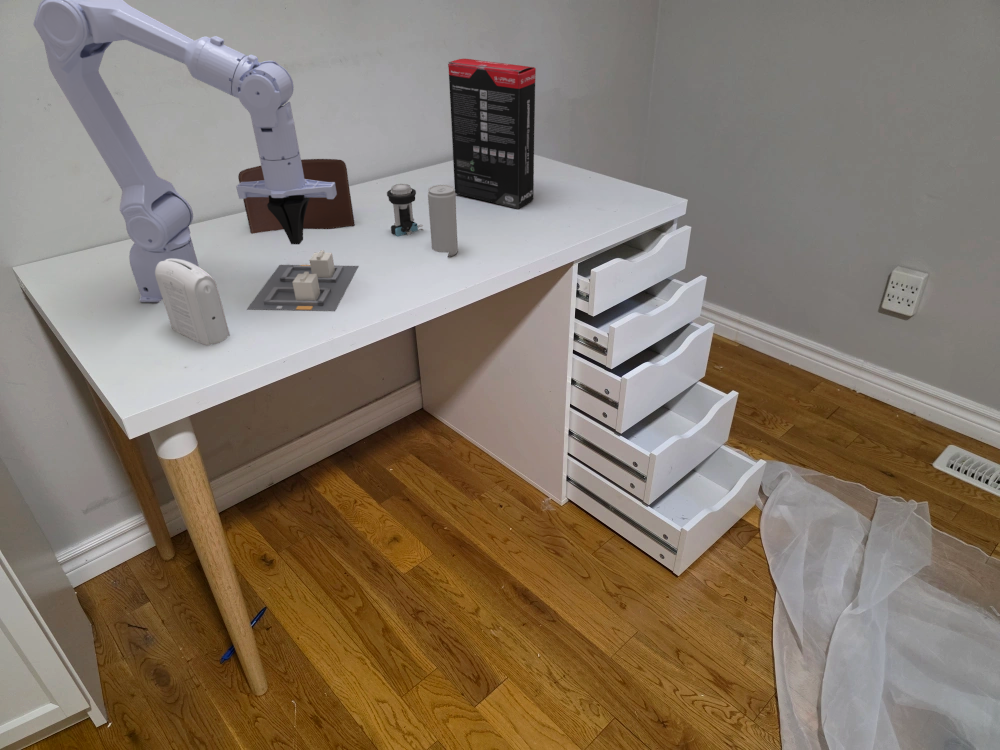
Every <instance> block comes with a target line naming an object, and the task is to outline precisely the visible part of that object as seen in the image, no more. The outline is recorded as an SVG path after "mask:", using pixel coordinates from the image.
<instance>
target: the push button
mask: <svg viewBox="0 0 1000 750" xmlns="http://www.w3.org/2000/svg"><path fill="white" fill-rule="evenodd" d="M416 195H417V191H416V189H415V188H412V187H411V185H410V184H407V183H396V184H393V185H392V186H391V188H390V189H389V190H388V191H387V192H386V197H388V201H389V202H390V204H392V206H393V215H394V223H393V225H391V226H390V231H391V234H392V235H393V236H395V237H397V238H398V237H400V236H403V235H406V236H409V235H413V233H414V232H417V231H424V229H423V226H424V225H423V224H418V223H416V222H415V218H414V217H413V216H414V215H413V212H414V211H413V202H415V201H416ZM421 227H422V228H421ZM419 228H420V229H419Z"/></svg>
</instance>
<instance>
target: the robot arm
mask: <svg viewBox="0 0 1000 750" xmlns="http://www.w3.org/2000/svg"><path fill="white" fill-rule="evenodd" d="M33 27H34V29H35V30H36V31H37V33H38V35H39V37H40V38H41V40H42V42H43V44H44V49H45V54H46V58H47V64H48V68H49V70H50V72H51V74H52V76H53V79H55V81H56V83H57V84H58V86H59V87H60V89H61V91H62V92H63V94H64V96H65V97H66V99H67V102H69V105H70V106H71V108H72V109H73V111H74V112H75V114H76V116H77V118H78V120H79V121H80V123H81V124H82V126H83V128H84V129H85V131H86V133H87V134H88V136H89V138H90V140H91V141H92V143H93V144H94V146H95V148H96V150H97V151H98V152H99V154H100V156H101V158H102V160H103V161H104V163H105V165H106V166H107V169H108V170H109V171H110V173H111V175H112V176H113V178H114V180H115V181H116V183H117V185H118V186H119V188H120V189H121V196H120V197H121V199H120V201H119V212H120V213H121V215H122V217H123V219H124V223H125V227H126V228H125V230H126V232H127V234H128V237H129V238H130V239H131V241H132V242H133V244H132V246H131V248H130V250H129V256H128V258H129V265H130V268H131V272H132V275H133V277H134V280H135V283H136V285H137V288H138V292H139V295H140V297H139V299H138V300H139V302H140V303H160V302H161V301H163V298H162V295H161V292H160V289H159V286H158V282H157V279H156V276H155V270H156V266H157V264H158V263H159V262H161V261H165V260H166V259H181V260H185V261H188V262H190V263H192V264H194V265H196V266H198V267H200V265H199V262H198V258H197V254H196V251H195V248H194V244H193V239H192V237H191V230H190V225H191V224H192V223H193V220H194V213H193V209H192V207H191V204H190V203H189V202H188V201H187V199H186V198H185V197H183V196H182V195H181V194H180V193H179V192H178V191H177V190H176V188H175V187H174V185H173V183H172V182H170V181H168V180H167V179H164V178H162V177H160V176H158V175H157V173H156V171H155V169H154V168H153V166H152V164H151V163H150V161H149V159H148V157H147V155H146V154H145V152H144V150H143V148H142V146H141V144H140V143H139V141H138V139H137V138H136V136H135V134H134V132H133V130H132V129H131V127H130V125H129V123H128V122H127V120H126V118H125V116H124V115H123V113H122V111H121V109H120V108H119V106H118V104H117V102H116V101H115V98H114V97H113V95H112V93H111V92H110V89H109V88H108V86H107V85H106V83H105V81H104V79H103V77H102V75H101V74H100V72H99V70H100V66H101V64H102V61H103V58H104V55H105V52H106V50H107V49H108V48H109V47H110V46H111V45H112V43H113V42H119V41H128V42H130V43H132V44H135V45H138V46H140V47H143V48H145V49H148V50H150V51H153V52H155V53H157V54H159V55H163V56H164V57H167V58H169V59H172V60H174V61H177V62H179V63H181V64H184V65H185V66H186V68H187V70H188V71H189V75H190V76H191V77H192V78H194V79H195V80H197V81H199V82H202V83H204V84H207V85H208V86H210V87H213V88H214V89H217V90H219V91H221V92H223V93H225V94H227V95H230V96H232V97H235V98H236V99H238V100H239V102H240V104H241V105H242V106H243V108H244V109H246V111H247V112H248V113H249V115H250V119H251V124H252V129H253V134H254V140H255V142H256V148H257V152H258V155H259V161H260V166H261V167H262V171H263V176H264V180H262V181H252V182H241V183H238V184H237V185H236V186H235V187H236V191H237V192H236V193H237V196H238V199H240V200H243V199H245V198H247V197H269V203H268V204H267V207H268V209H269V210H270V211H271V213H272V214H273V215H274V216H275V217H276V218H277V220H278V221H279V222H280V224H281V225H282V227H283V229H282V230H284V232H285V234H286V236H287V238H288V240H289V243H290V245H300V244H302V242H303V240H304V229H303V225H304V217H305V213H306V209H307V205H308V202H309V199H310V197H327V199H334V198H335V196H336V195H337V192H336V186H335V182H322V181H315V180H308V179H304V174H303V168H302V163H301V160H302V158H301V153H300V152H301V151H300V148H299V141H298V136H297V129H296V124H295V121H294V116H293V111H292V104H291V102H290V101H289V100H290V99H291V98H292V96H293V93H294V87H295V86H294V81H293V79H292V76H291V74H290V73H289V71H288V70H287V69H286V68H285V67H283V66H282V65H281V64H279V63H278V62H277V61H275V60H264V61H261V62H260V61H259V58H258V56H256V55H255V54H251V53H250V54H249V55H247V54H245V53H243V52H241V51H239V50H236V49H234V48H232V47H230V46H228V45H225V44H224V43H225V39H224V38H223V37H219V36H217V35H213V36H211V37H209V36H206V35H205V36H202V37H199V38H197V39H195V40H194V39H192V38H190V37H188V36H187V35H185V34H183V33H181V32H179V31H178V30H175V29H174V28H172V27H170V26H168V25H166V24H165V23H162V21H159V20H157V19H155V18H153V17H151V16H150V15H148V14H145V13H144V12H142V11H141V10H138V9H137V8H136V7H133V6H131V5H130V4H128V3H127V2H126V1H124V0H41V1H40V3H39V5H38V7H37V11H36V14H35V16H34V19H33Z"/></svg>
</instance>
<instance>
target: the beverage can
mask: <svg viewBox="0 0 1000 750" xmlns="http://www.w3.org/2000/svg"><path fill="white" fill-rule="evenodd" d="M427 192H428V193H427V200H428V201H427V203H428V214H429V215H428V216H429V227H430V241H431V242H430V243H431V249H432V250H433V251H435V252H438V253H448V255H447V258H450V257H453V256H455V255H456V254H457V253H458V250H459V247H458V246H459V245H458V242H459V241H458V227H457V226H458V225H457V200H456V199H457V198H456V195H457V194H455V186H452V185H449V184H435V185H432V186H430V187H428V191H427Z"/></svg>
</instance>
